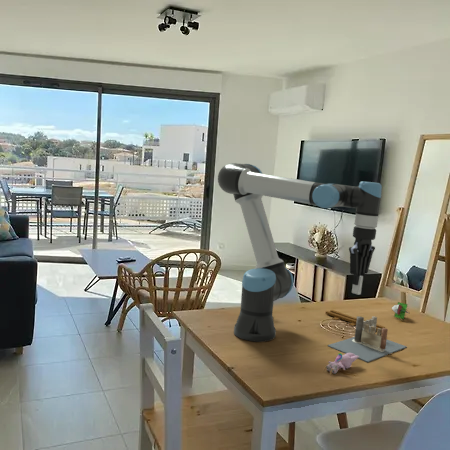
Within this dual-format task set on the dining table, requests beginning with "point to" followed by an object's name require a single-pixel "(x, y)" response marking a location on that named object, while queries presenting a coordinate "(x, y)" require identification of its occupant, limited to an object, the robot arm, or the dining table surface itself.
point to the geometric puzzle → (400, 310)
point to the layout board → (366, 349)
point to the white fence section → (360, 326)
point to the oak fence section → (374, 336)
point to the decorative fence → (347, 318)
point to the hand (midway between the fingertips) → (356, 293)
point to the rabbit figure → (341, 362)
